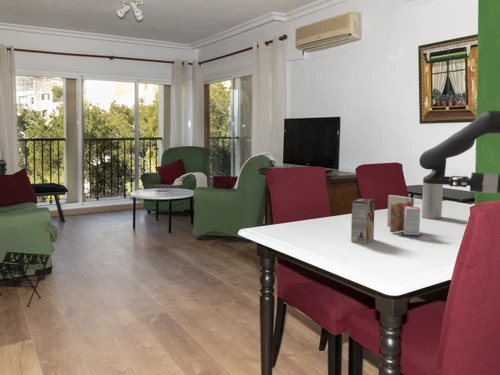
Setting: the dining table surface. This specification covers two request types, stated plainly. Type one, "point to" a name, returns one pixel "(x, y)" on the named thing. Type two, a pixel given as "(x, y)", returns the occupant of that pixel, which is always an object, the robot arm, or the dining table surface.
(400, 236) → the pad
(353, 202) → the coffee box
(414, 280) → the dining table surface
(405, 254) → the dining table surface
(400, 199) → the cream upright panel
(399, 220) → the door
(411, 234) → the supplement box
